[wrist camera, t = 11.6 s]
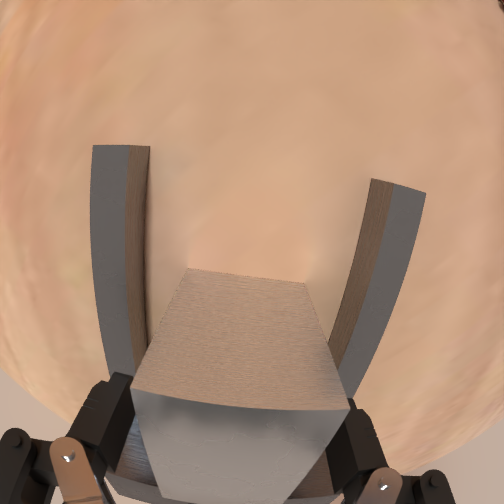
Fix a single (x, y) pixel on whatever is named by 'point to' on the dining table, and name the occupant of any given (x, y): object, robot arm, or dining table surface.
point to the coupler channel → (133, 306)
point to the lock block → (237, 390)
